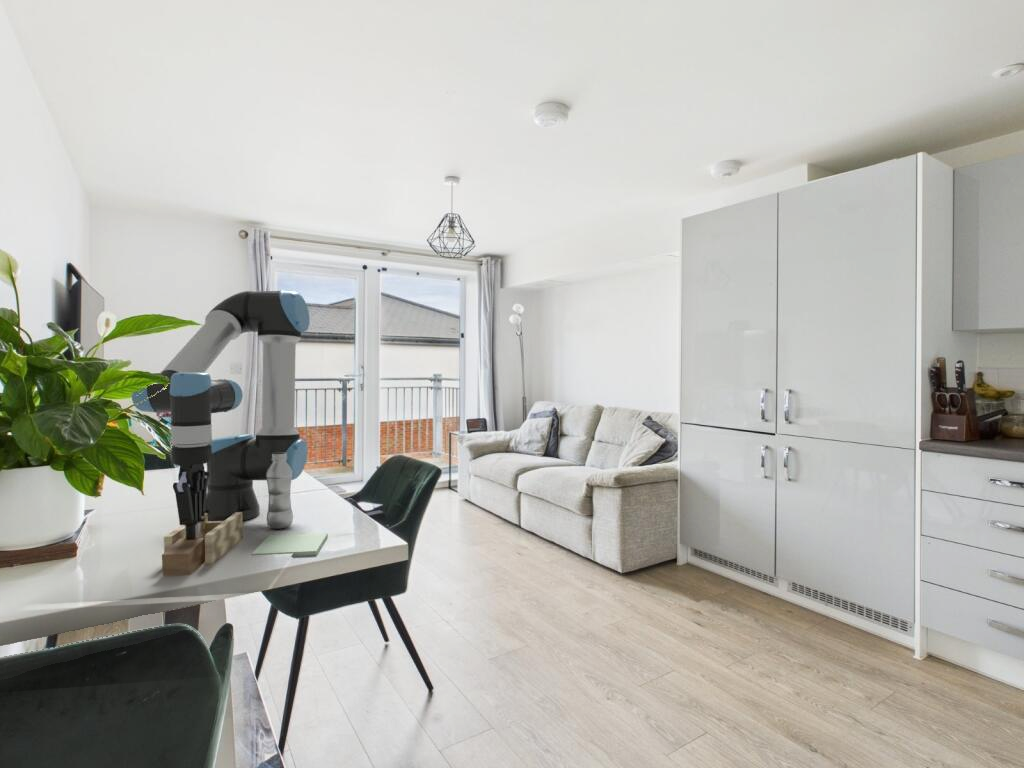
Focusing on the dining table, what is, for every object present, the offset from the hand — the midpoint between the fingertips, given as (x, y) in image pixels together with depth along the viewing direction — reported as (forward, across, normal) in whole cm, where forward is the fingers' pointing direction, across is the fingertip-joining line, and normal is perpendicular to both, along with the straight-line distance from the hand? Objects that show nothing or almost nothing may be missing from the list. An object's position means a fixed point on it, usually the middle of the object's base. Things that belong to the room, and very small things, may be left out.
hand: (193, 553), depth 119 cm
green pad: (+3, -10, +18) cm, 21 cm away
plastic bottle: (+3, -27, +11) cm, 29 cm away
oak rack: (+3, -7, 0) cm, 8 cm away
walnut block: (+2, +4, 0) cm, 5 cm away
